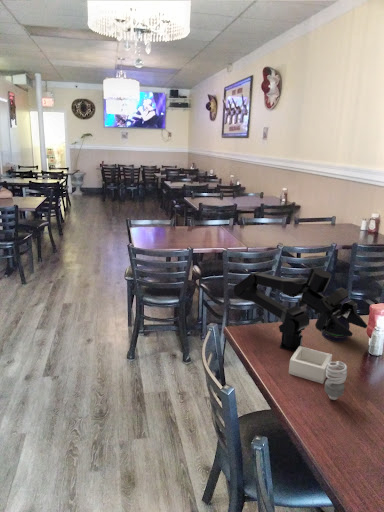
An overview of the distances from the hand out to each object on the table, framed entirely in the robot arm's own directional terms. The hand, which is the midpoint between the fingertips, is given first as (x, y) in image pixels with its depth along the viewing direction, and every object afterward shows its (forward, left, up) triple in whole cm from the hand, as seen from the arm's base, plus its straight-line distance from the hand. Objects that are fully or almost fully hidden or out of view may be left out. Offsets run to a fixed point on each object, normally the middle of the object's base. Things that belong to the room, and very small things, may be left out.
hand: (359, 331), depth 125 cm
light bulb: (-3, -17, -16) cm, 23 cm away
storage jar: (-11, +26, -16) cm, 32 cm away
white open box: (-13, -5, -15) cm, 21 cm away
